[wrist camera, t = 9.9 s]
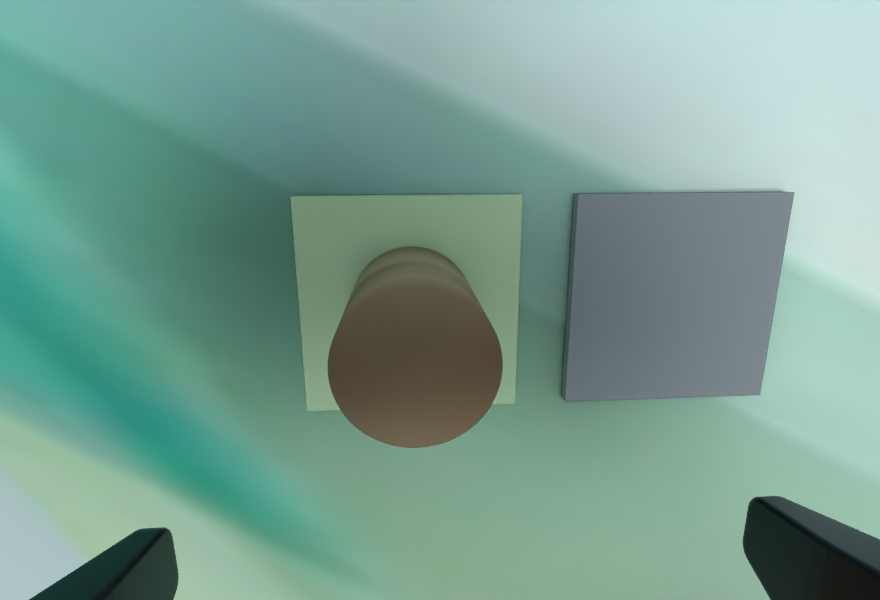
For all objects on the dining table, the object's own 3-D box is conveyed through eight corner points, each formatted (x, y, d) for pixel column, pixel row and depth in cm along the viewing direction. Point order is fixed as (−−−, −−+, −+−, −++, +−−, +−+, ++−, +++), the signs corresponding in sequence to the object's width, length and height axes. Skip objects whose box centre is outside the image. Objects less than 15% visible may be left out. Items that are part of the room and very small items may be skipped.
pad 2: (751, 389, 21) (759, 394, 21) (561, 396, 20) (565, 401, 20) (784, 191, 19) (794, 192, 18) (573, 193, 18) (578, 193, 18)
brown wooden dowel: (471, 360, 19) (500, 444, 13) (354, 364, 19) (332, 451, 13) (472, 245, 18) (505, 282, 12) (348, 247, 18) (322, 285, 12)
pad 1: (512, 398, 20) (515, 403, 20) (309, 405, 20) (306, 411, 19) (519, 193, 18) (522, 194, 18) (293, 195, 18) (290, 196, 17)
